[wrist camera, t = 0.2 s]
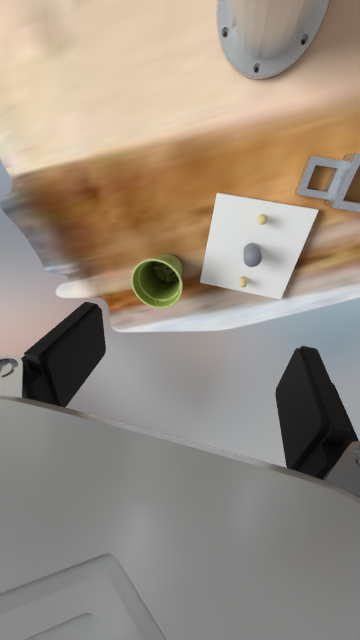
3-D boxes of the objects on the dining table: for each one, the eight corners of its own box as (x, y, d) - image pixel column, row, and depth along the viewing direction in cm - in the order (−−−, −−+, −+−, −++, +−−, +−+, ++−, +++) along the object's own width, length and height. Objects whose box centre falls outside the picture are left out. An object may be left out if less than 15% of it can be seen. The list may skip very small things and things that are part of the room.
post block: (217, 192, 39) (214, 195, 34) (316, 208, 37) (327, 214, 32) (200, 279, 48) (196, 292, 43) (279, 296, 46) (284, 311, 41)
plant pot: (200, 269, 47) (193, 287, 40) (170, 296, 52) (159, 317, 45) (166, 234, 45) (152, 247, 38) (138, 267, 50) (121, 283, 43)
